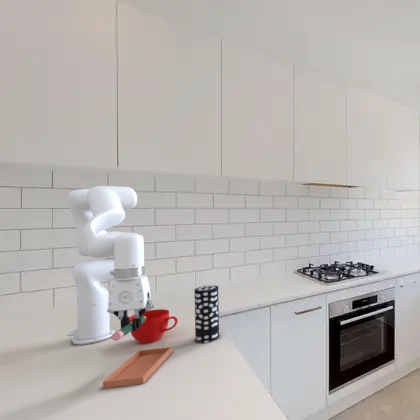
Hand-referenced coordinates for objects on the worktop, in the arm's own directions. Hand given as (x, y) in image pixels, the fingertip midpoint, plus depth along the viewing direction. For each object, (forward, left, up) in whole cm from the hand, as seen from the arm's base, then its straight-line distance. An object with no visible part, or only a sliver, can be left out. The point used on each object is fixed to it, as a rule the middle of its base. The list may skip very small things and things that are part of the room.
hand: (131, 329), depth 99 cm
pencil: (0, 0, 0) cm, 0 cm away
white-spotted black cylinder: (+16, +20, -13) cm, 29 cm away
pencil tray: (+2, 0, -13) cm, 13 cm away
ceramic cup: (-4, +24, -13) cm, 28 cm away
